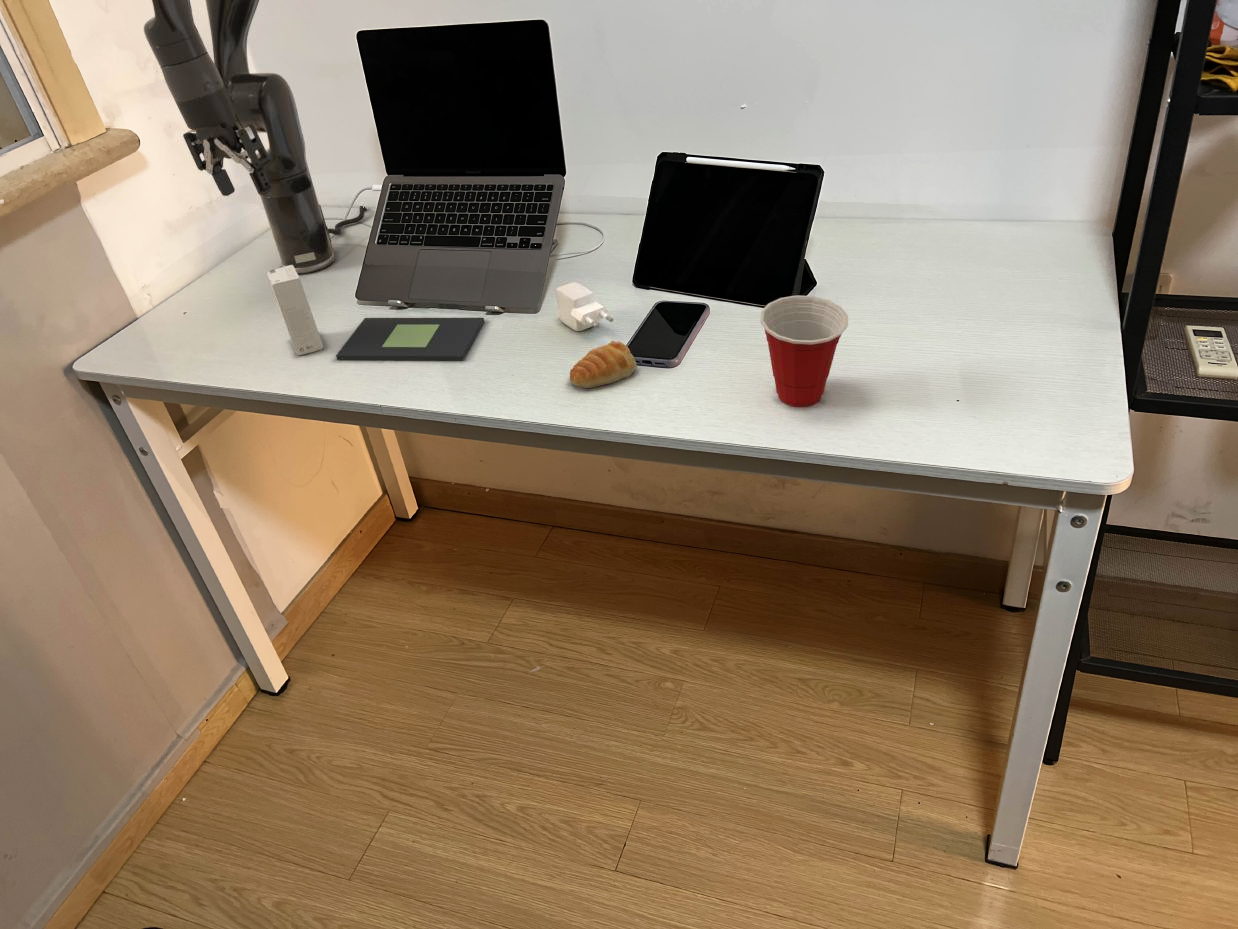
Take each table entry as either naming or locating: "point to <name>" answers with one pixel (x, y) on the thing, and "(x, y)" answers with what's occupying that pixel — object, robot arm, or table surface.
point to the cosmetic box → (295, 309)
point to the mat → (411, 339)
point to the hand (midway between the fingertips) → (247, 193)
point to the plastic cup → (802, 345)
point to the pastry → (603, 366)
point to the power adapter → (579, 307)
